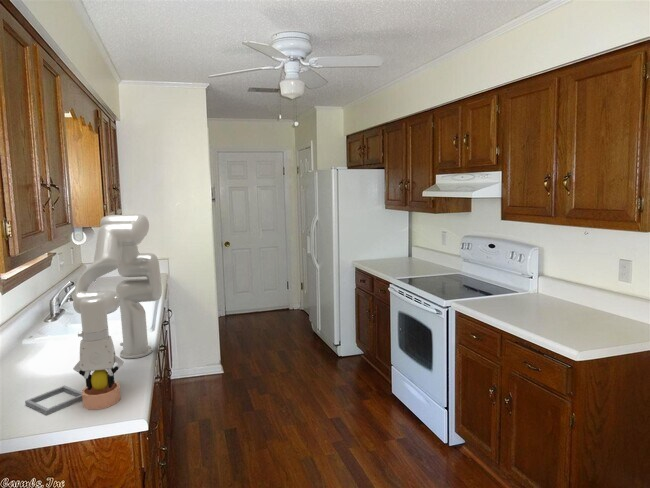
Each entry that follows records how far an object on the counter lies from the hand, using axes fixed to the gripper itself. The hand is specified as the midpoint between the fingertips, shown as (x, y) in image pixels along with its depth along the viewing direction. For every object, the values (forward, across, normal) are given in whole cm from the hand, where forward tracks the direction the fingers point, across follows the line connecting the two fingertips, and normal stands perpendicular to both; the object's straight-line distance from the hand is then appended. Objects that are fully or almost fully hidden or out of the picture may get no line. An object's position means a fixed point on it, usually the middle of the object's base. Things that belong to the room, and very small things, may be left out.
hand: (100, 386), depth 156 cm
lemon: (+2, 0, 0) cm, 2 cm away
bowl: (+5, 0, 0) cm, 5 cm away
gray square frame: (+5, -15, +3) cm, 16 cm away
